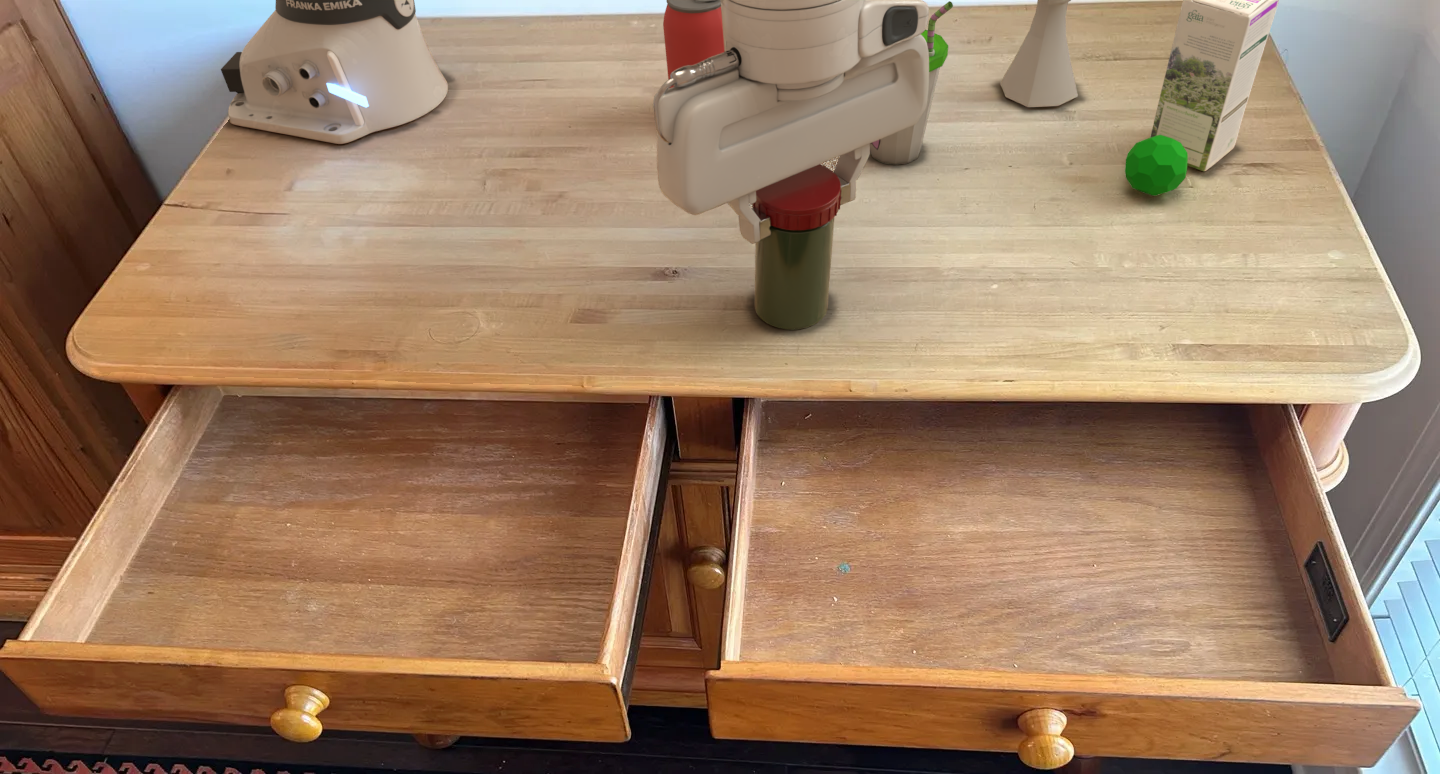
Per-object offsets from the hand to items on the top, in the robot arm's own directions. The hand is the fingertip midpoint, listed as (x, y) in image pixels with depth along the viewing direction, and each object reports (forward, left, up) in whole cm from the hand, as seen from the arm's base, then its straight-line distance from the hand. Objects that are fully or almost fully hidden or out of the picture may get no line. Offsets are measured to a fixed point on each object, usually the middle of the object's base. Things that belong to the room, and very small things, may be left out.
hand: (799, 218), depth 75 cm
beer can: (-14, +30, -9) cm, 34 cm away
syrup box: (+31, +28, -9) cm, 43 cm away
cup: (+5, +25, -9) cm, 27 cm away
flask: (+18, +38, -9) cm, 43 cm away
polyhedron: (+27, +21, -9) cm, 35 cm away
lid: (0, 0, +2) cm, 2 cm away
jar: (-1, +1, -8) cm, 8 cm away
